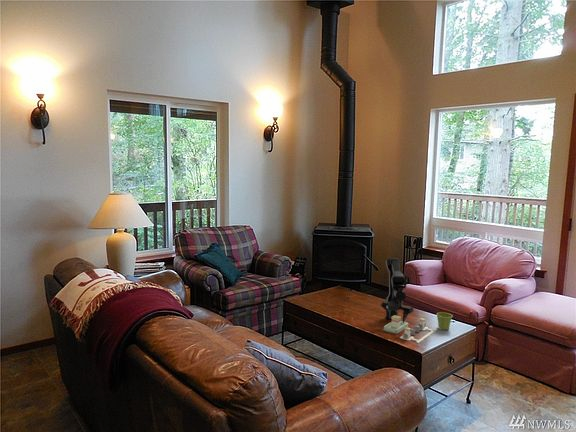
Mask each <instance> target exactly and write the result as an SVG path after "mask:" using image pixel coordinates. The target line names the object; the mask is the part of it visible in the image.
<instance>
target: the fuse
mask: <svg viewBox="0 0 576 432" xmlns="http://www.w3.org/2000/svg"><path fill="white" fill-rule="evenodd" d="M391 318H392V320H391V322H392V323H391V322H390V323H391V328H394V329H398V328H399V327H401V321H402V316H400V315H398V316H396V315H394V316H392V317H391Z"/></svg>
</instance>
